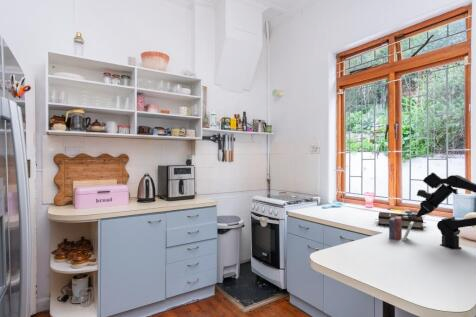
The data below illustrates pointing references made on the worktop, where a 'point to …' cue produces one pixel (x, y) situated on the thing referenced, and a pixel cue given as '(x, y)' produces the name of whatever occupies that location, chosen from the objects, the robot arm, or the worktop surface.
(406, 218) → the decorative book
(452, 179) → the robot arm
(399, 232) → the book row
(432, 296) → the worktop surface
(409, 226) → the bookend
